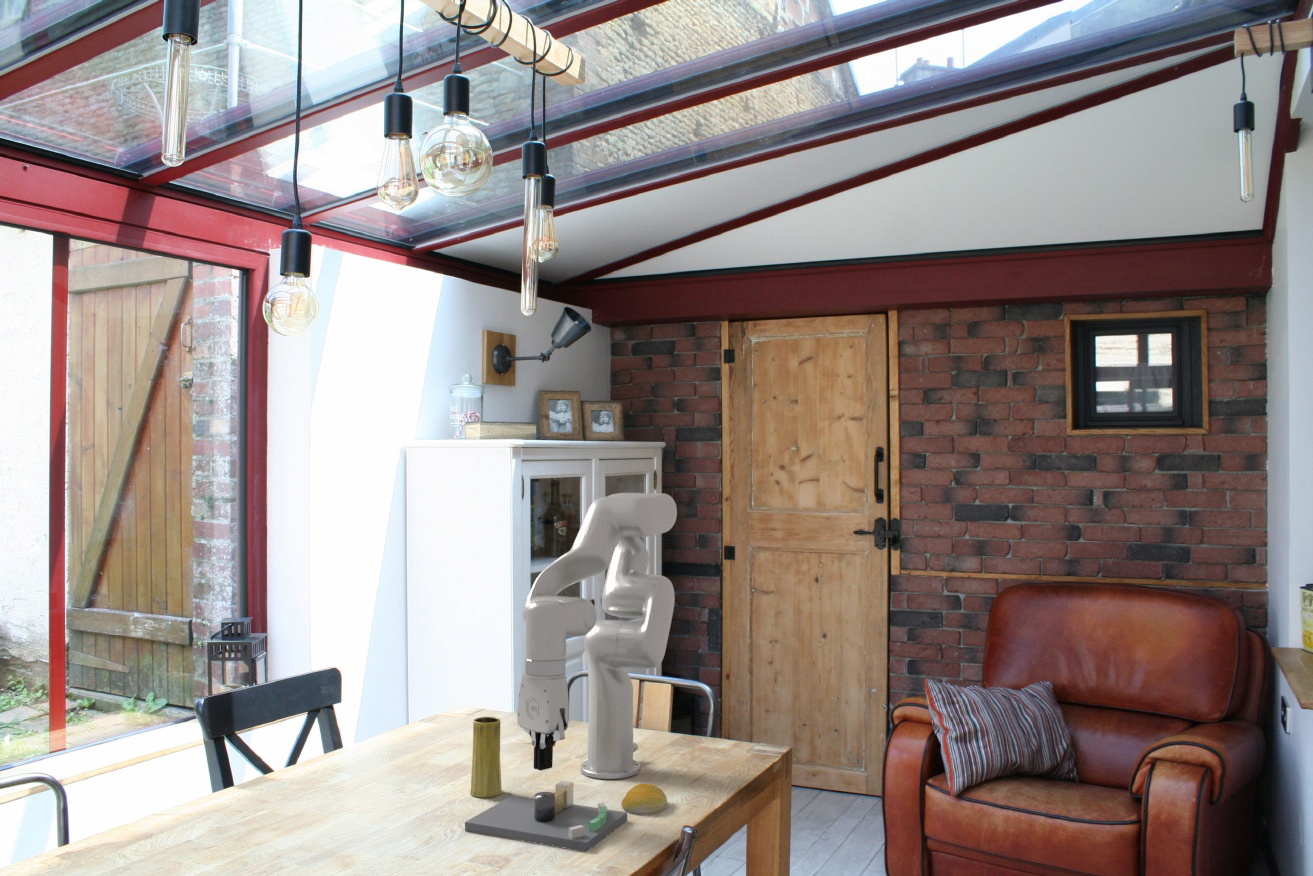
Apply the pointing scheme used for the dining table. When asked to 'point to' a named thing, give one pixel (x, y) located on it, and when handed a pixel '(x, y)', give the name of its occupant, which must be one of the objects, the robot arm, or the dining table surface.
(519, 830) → the grey flat slab
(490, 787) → the vase
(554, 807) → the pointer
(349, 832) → the dining table surface
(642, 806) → the bread roll
